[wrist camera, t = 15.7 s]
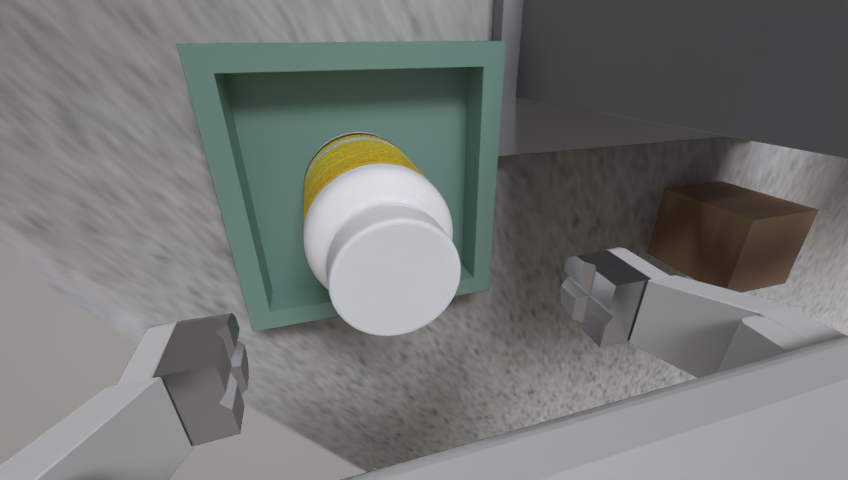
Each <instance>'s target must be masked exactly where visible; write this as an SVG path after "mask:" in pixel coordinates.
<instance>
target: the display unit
mask: <svg viewBox="0 0 848 480" xmlns="http://www.w3.org/2000/svg"><path fill="white" fill-rule="evenodd" d="M492 41H506V48H505V63H504V78H503V92H502V107H501V122H500V136H499V151H498V156H508V155H520V154H531V153H543V152H554V151H566V150H577V149H589V148H600V147H612V146H624V145H635V144H647V143H658V142H670V141H681V140H693V139H704V138H716V137H727V136H729V137H735V138H740V139H745V140H751V141H756V142H762V143H767V144H772V145H778V146H783V147H789V148H794V149H800V150H805V151H810V152H816V153H821V154H827V155H832V156H837V157H843V158H848V0H495V3H494V22H493V40H492Z"/></svg>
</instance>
